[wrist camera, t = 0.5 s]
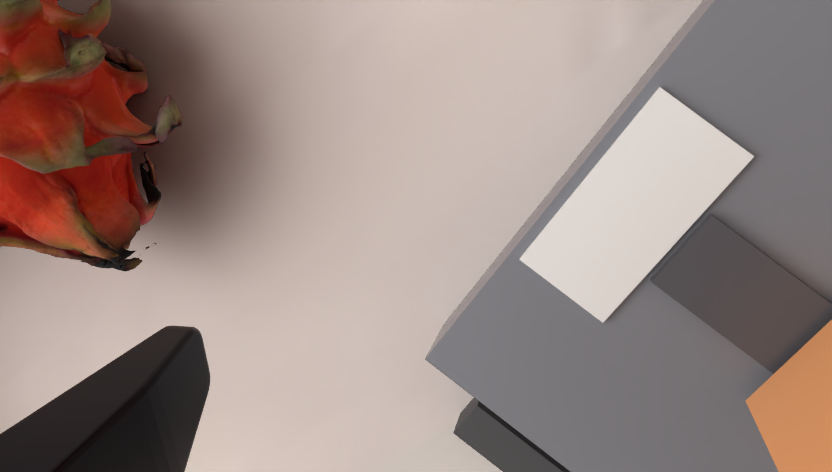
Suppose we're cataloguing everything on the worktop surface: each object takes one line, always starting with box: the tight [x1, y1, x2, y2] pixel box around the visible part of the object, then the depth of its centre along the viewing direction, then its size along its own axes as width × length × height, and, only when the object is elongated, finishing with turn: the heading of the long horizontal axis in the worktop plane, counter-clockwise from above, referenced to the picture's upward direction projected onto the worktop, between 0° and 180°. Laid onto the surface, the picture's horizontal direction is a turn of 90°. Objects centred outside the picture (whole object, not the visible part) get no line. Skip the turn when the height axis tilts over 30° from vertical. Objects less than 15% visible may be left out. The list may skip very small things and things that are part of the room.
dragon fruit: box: [0, 0, 182, 271], centre depth 22 cm, size 8×8×12 cm
